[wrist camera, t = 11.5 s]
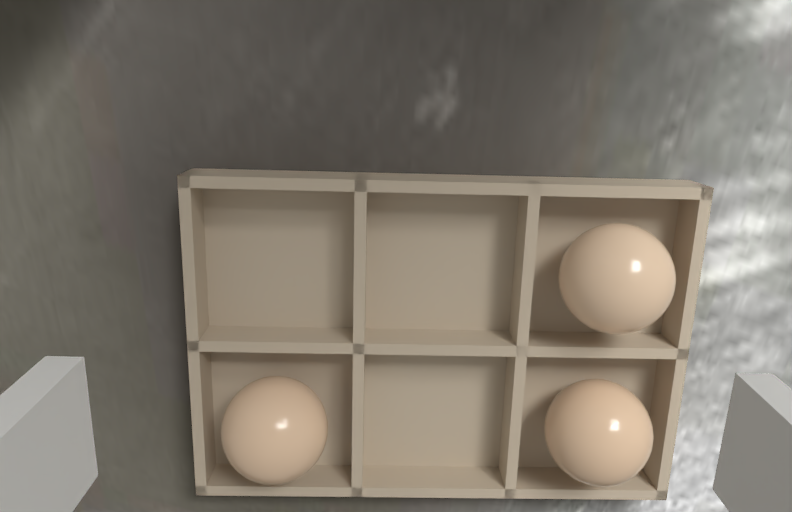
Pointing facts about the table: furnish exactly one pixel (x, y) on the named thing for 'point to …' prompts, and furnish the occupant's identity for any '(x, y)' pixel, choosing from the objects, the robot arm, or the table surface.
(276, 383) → the egg
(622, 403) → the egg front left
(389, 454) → the carton
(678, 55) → the table surface
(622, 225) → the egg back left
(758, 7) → the table surface
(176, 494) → the table surface
